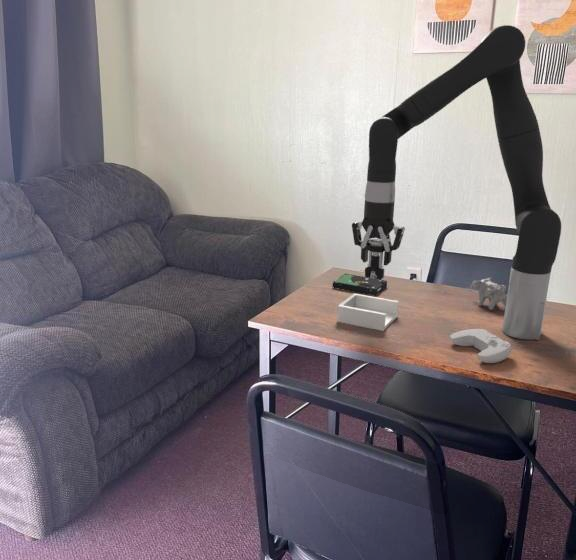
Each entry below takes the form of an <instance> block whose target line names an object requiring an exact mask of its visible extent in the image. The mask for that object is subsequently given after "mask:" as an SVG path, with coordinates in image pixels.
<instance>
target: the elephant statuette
mask: <svg viewBox="0 0 576 560" xmlns="http://www.w3.org/2000/svg"><path fill="white" fill-rule="evenodd" d="M472 289H473V290H475V291H476V290H477V291H478V301H477V306H479V307H482V306H483V305H484V303H485V302H486V300H487V299H488V302H489V305H488V310H489V311H493V310H494V308H495V306H496V305H498V304H499V303H502V304H503V306H504V307H506V300H507V294H506V290H507V286H506V285H504V284H501V285H500V284H498V283H496V282H493V281H492V277H488V278H483V279H481V280H480V279H479V280H473V281H472V283H471V285H470V286H469V290H472Z"/></svg>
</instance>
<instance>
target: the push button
mask: <svg viewBox="0 0 576 560" xmlns="http://www.w3.org/2000/svg"><path fill="white" fill-rule="evenodd" d="M366 246H367V250H368V264H367V266H366V267H365V268H364V269H360V270H359V271H361V272H359V274H361V275H364V277H368V278H373V279H378V280H383V279H384V277H385V268H384V265H383V261H384V252H385V247H384V244H383V243H382V240H381V239H378V238H372V239H371V240H370V242H369V243H367V244H366Z"/></svg>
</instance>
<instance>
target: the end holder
mask: <svg viewBox="0 0 576 560" xmlns="http://www.w3.org/2000/svg"><path fill="white" fill-rule="evenodd" d="M398 312H399V300H393V299H388V298H383V297H377V296H373V295H367V294H362V293H356V292H353V294H352V295H350V296H349V297H348V298H346V299H345V300H344V301H342V302H341V303H340V304H338V305H337V316H336V317H337V318H336V321H337V323H342V324H347V325H352V326H357V327H361V328H367V329H372V330H377V331H382V332H384V331H385V330H386V329H387V328H388V327H389V326H390V325H391V324H392V323H393V322H394V321H395V320H396V318H398V314H399V313H398Z"/></svg>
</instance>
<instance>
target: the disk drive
mask: <svg viewBox="0 0 576 560" xmlns="http://www.w3.org/2000/svg"><path fill="white" fill-rule="evenodd" d="M332 287H334V288H333V289H336V288H339V289H338V290H341V289H344V291H347V290H349V291H348V292H352V291H354V292H353V293H357V292H360V293H359V294H363V293H365V294H364V295H368V294H370V295H369V296H373V295H374V296H373V297H377V295H379V294H381V293H382V292H383V291H385V290H386V289H387V288H386V287H388V280H384V279H381V280H378V279H374V278H368V277H365V276H361V275H355V274H351V273H344V274H342V275H340V276H339V277H338V278H337V279H335V280H333V281H332ZM382 290H383V291H382ZM378 293H379V294H378Z"/></svg>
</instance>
